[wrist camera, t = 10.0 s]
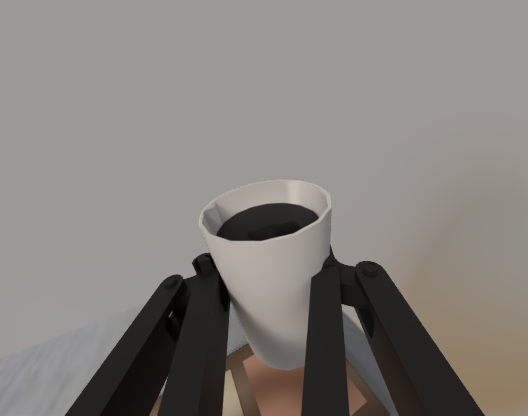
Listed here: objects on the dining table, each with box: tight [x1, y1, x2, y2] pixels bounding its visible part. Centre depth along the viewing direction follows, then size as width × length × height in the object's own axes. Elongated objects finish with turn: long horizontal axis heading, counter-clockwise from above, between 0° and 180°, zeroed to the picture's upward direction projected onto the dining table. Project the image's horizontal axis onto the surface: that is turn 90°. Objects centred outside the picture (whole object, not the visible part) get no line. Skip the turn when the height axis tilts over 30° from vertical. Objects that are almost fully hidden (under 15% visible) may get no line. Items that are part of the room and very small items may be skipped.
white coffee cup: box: [198, 179, 332, 371], centre depth 13 cm, size 7×7×10 cm
